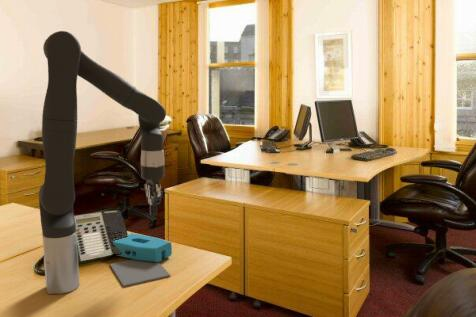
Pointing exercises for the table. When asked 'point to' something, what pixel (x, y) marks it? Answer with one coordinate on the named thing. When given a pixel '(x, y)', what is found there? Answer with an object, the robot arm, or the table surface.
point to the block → (143, 247)
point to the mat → (138, 271)
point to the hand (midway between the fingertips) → (153, 215)
